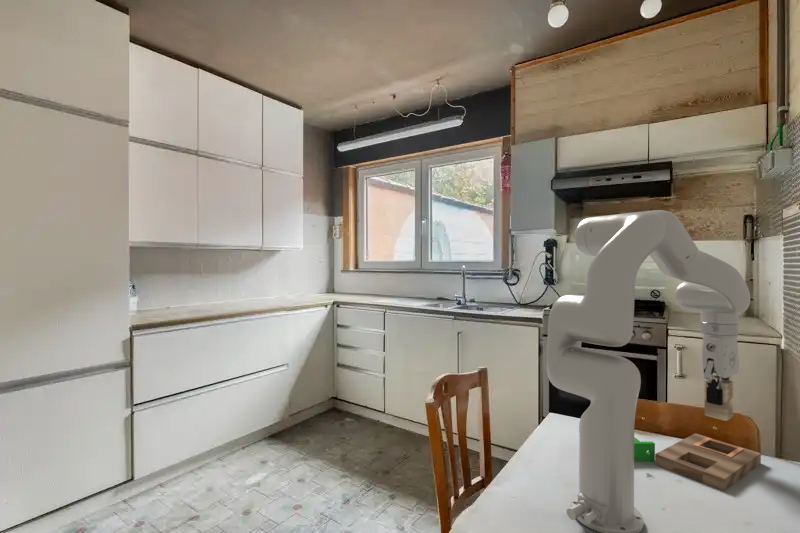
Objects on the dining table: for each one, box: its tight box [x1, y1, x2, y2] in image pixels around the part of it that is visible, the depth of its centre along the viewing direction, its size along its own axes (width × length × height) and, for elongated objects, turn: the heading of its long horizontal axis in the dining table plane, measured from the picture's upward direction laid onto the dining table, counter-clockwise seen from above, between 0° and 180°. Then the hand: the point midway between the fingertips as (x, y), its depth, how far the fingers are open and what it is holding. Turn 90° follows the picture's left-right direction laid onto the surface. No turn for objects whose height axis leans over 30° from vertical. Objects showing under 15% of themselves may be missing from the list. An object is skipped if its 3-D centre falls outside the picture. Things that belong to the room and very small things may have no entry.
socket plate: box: [654, 433, 762, 491], centre depth 101 cm, size 22×14×3 cm, turn 123°
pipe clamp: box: [634, 436, 656, 462], centre depth 104 cm, size 11×4×5 cm, turn 89°
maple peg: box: [704, 378, 734, 422], centre depth 104 cm, size 4×4×9 cm
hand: (718, 400), depth 104 cm, fingers closed on maple peg, 4 cm apart
